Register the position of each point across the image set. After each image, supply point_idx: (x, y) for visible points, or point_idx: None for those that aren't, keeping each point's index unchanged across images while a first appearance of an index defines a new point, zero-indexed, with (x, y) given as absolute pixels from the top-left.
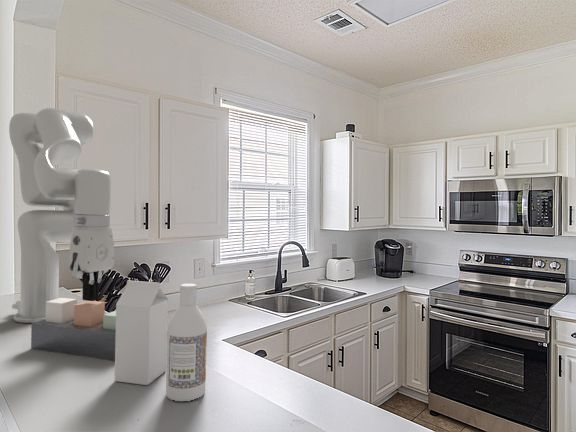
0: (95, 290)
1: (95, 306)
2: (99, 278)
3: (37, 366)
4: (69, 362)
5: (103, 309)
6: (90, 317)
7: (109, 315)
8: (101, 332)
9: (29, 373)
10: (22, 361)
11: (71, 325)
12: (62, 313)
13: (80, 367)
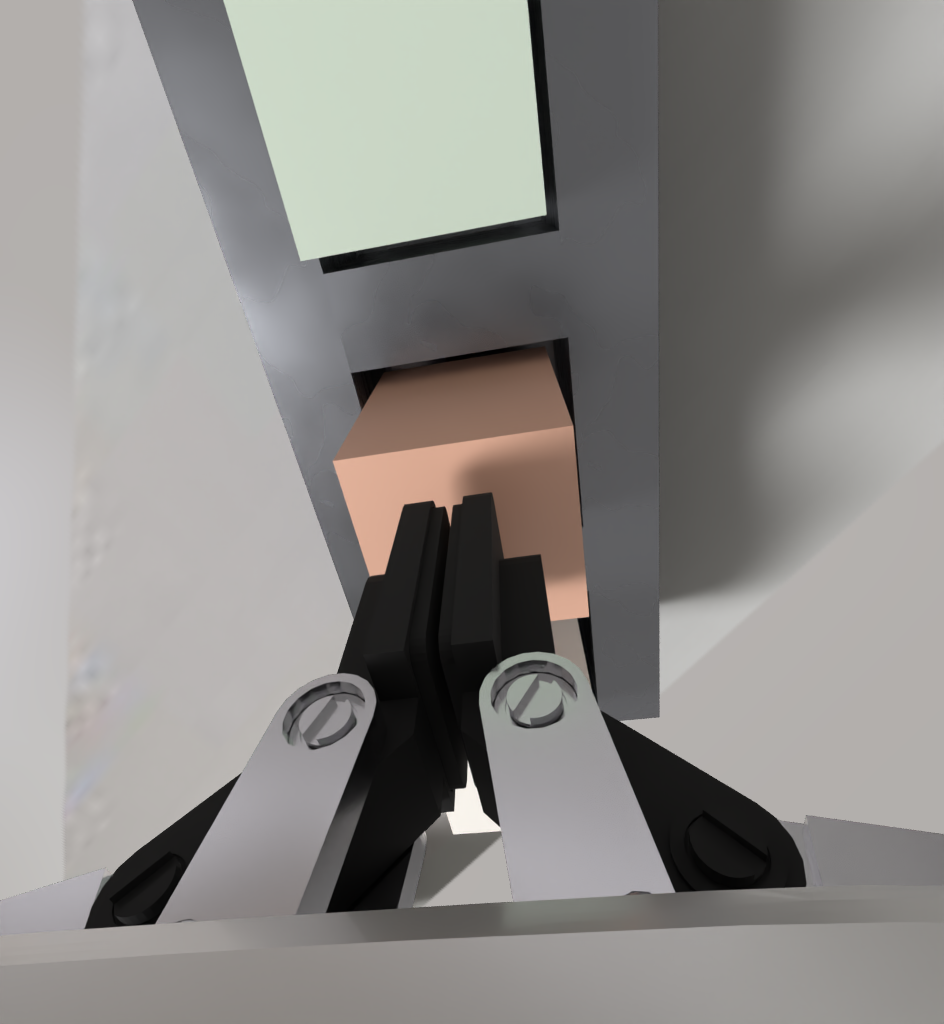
0: (463, 566)
1: (494, 429)
2: (299, 753)
3: (820, 387)
4: (721, 275)
5: (368, 425)
6: (557, 387)
7: (532, 111)
8: (656, 87)
9: (923, 333)
10: (774, 510)
11: (600, 499)
12: (576, 651)
13: (779, 118)
